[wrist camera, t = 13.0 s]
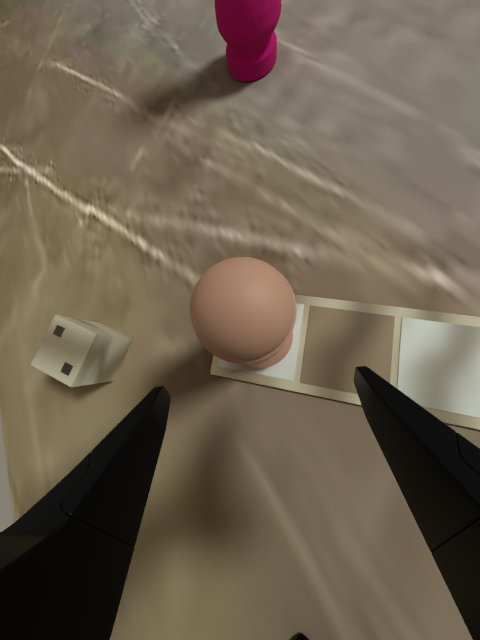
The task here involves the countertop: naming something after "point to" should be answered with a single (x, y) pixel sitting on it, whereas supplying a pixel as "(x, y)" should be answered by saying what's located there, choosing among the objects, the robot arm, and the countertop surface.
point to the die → (81, 352)
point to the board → (378, 356)
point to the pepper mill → (249, 35)
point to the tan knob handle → (244, 312)
